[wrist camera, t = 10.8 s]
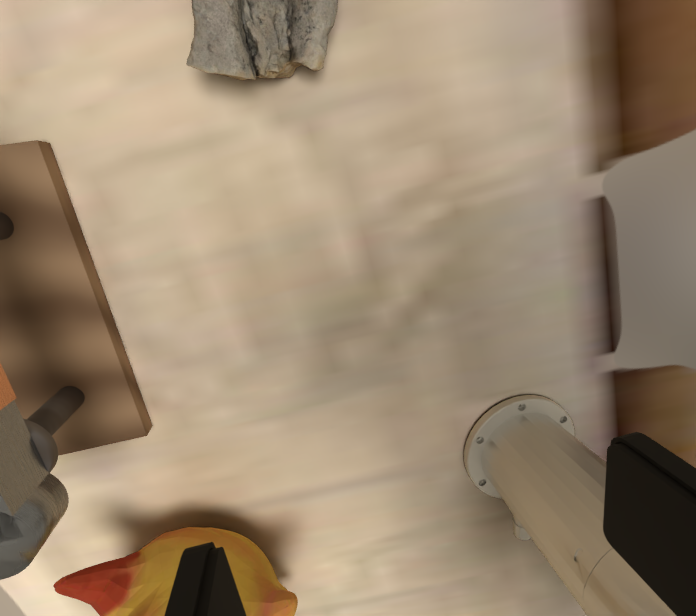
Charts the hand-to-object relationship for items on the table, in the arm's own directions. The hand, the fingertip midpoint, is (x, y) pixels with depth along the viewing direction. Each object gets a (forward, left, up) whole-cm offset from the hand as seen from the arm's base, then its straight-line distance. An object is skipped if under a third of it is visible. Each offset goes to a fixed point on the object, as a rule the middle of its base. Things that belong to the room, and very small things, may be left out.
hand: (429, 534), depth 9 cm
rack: (+2, +22, -26) cm, 34 cm away
